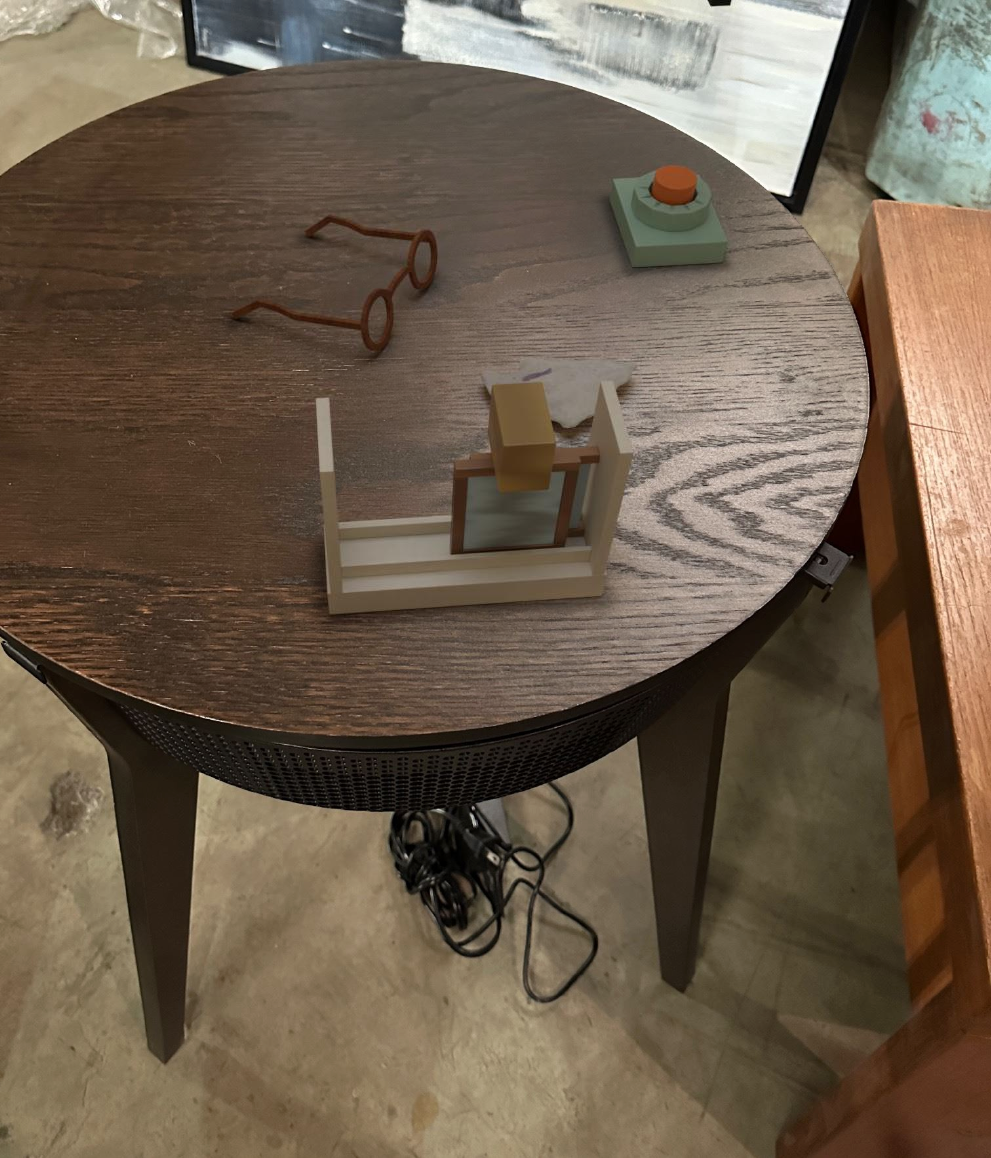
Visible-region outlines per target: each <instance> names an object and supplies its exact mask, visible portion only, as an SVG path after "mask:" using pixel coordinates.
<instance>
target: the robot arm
mask: <svg viewBox="0 0 991 1158" xmlns="http://www.w3.org/2000/svg"><path fill="white" fill-rule="evenodd" d="M707 2H708V4H709V6H710V7H711V8H712V7H731V5H732V0H707Z"/></svg>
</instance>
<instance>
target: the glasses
mask: <svg viewBox="0 0 991 1158" xmlns="http://www.w3.org/2000/svg"><path fill="white" fill-rule="evenodd" d="M331 223H332V224H335V225H339V226H341V227H342V226H343V227H345V228H348V229H350V230H353V231H355V232H356V233H359V234H360V235H362V236H365V237H374V238H383V239H392V240H401V241H411V243H410V246H409V250H408V254H407V258H406V260H407V261H406V266H403V267H401V268H400V269H399V271H398V272H397V273H396V275H395V276H394V277H393V279H392V280H391V281H390V283H389V284H388V287H387V288H378V287H377V288H375V289H374V290H372V291H371V293H369V295H368V296H367V298H366V300H365V301H364V304H363V307H362V310H361V314H360V320H355V319H348V318H341V317H333V316H327V315H320V314H313V313H308V312H307V313H306V312H300V311H294V310H293V309H290V308H288V307H286V306H284V305H281V304H280V303H278V302H274V301H271V300H270V301H269V300H266V299H262V298H257V299H255V300H254V301H251V302H249V303H247V304H245V305H243V306H241V307H239V308H237V309H235V310H233V311H232V312H231V315H232V316H233V318H234V319H235V320H238V319H239V318H241V317H243V316H245V315H247V314H250V313H251V312H254V311H256V310H258V309H260V308H263V309H266V310H268V311H272V312H276V313H278V314H281V315H282V316H285V317H287V318H288V319H291V320H293V321H296V322H301V323H302V322H303V323H308V324H316V325H322V326H329V327H336V328H341V329H347V330H348V329H349V330H356V331H360V335H361V339H362V342H363V344H364V346H365V348H366V349H368V351H373V352H377V351H380V350H381V349H383V348H384V346H385V345H386V344H387V342H388V341H389V339H390V337H391V334H392V331H393V327H394V321H395V320H394V317H395V315H394V313H395V311H394V303H393V299H392V298H393V297H394V294H395V291H396V290H397V288H398V287H399V286H400V284H401V283H402V282H403V281H404V279H405V278H406V276H408V277H409V281H410V283H411V285H412V287H413V288H414V289H415V290H420V291H423V290H425V289H426V288H428V287H429V285H430V284H431V282H432V281H433V278H434V276H435V273H436V270H437V265H438V257H439V255H438V254H439V253H438V245H437V240H436V237H435V235H434V233H433V231H431V230H430V229H421V230H419V231H418V232H414V231H403V230H393V229H386V228H385V229H384V228H375V227H367V226H366V227H365V226H364V225H362V224H359V223H357V222H355V221H352V220H351V219H348V218H345V217H340V216H338V215H337V216H336V215H334V214H333V215H332V214H328V215H327V216H325V217H324V218H322V219H321V220H319V221H318V222H317V223H315V224H314V225H312V226H310V227H309V228H307V229H306V230H304V233H305V234H306V236H307V237H308V238H310V237H311V236H313V235H314V234H316V233H317V232H318V231H320V230H322V229H324V228H325V227H326V226H328V225H330V224H331ZM421 243H427V244H428V245H429V250H430V263H429V267H428V271H427V273H426V276H425V277H424V278H422V279H423V280H421V281H420V280H419V278H418V276H417V273H416V267H415V260H416V259H415V258H416V254H417V251H418V248H419V246H420V244H421ZM380 297H381V298H382V299H383V302H384V304H385V310H386V321H385V327H384V330H383V332H382V335H381V336H380V337H379V339H378V340H377V341H375V342H374V341H373V340H372V337H371V334H370V330H369V317H370V312H371V310H372V307H373V305H374V304H375V302H376V301H377V300H378V298H380Z"/></svg>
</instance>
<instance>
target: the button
mask: <svg viewBox="0 0 991 1158" xmlns="http://www.w3.org/2000/svg"><path fill="white" fill-rule="evenodd" d="M656 170H657V171H656V173H655V177H654V181H653V186H652V191H651V194H652V197H653V198H654V199H656V200H657V201H658V202H660V203H664V204H667V205H671V206H677V205H686V204H688V203H690V202H691V201H692V199H693V196H694V192H695V188H696V183H697V176H696V175H697V174H696V173H695V172H694V171H693V170H691V169H690V168H688V167H685V166H682V165H675V164H673V165H671V164H670V165H664V166H662V167H660V168H658V169H656Z"/></svg>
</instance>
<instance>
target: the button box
mask: <svg viewBox="0 0 991 1158" xmlns="http://www.w3.org/2000/svg"><path fill="white" fill-rule="evenodd" d="M657 170H658V169H655V170H652V171H649V172H648V173H646V174H644V175H641V176H640V177H623V178H622V177H621V178H612V182H611V189H610V194H609V202H610V205H611V208H612V211H613V215H614V217H615V220H616V224H617V227H618V230H619V233H620V236H621V239H622V241H623V245H624V248H625V251H626V254H627V257H628V259H629V263H630V266H631V268H645V267H646V268H647V267H664V266H665V267H666V266H685V265H702V264H703V265H704V264H720V263H721V264H722V263H723V261H724V259H725V254H726V250H727V247H728V244H729V241H728V238H727V236H726V234H725V231H724V228H723V227H722V226H723V225H722V224H721V222H720V219H719V217H718V214H717V211H716V210H715V207H714V205H713V203H712V198H713V194H712V192H711V189H710V187H709V185H708V183H707V182H706V181H704V180H703V179H702V177H701V175H700V174H696V176H697V183H696V188H695V192H694V196H693V199H692V201H691V202H690V203H688V204H686V205H677V206H671V205H667V204H664V203H660V202H658V201H657V200H656V199H654V198H653V197H652V194H651V191H652V186H653V181H654V177H655V173H656V171H657Z"/></svg>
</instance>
